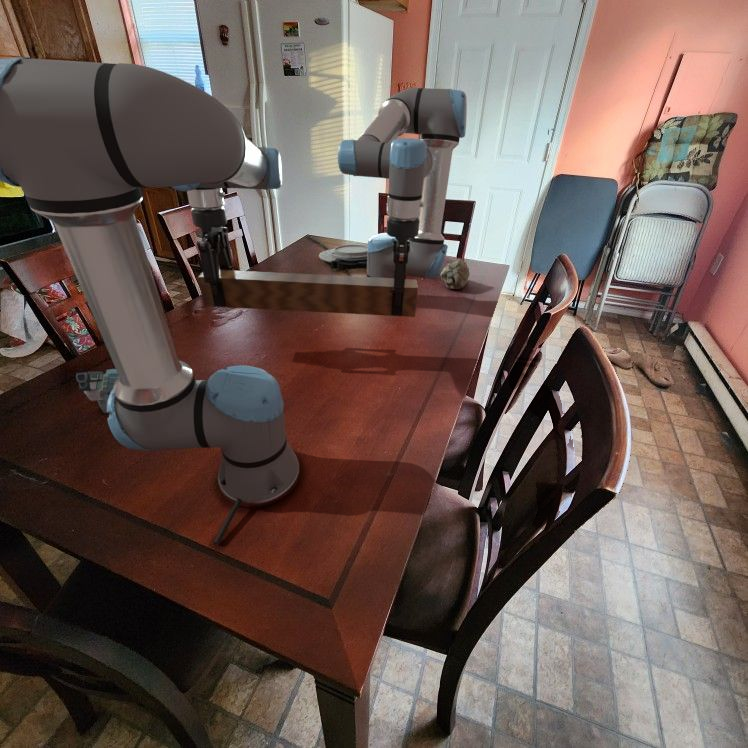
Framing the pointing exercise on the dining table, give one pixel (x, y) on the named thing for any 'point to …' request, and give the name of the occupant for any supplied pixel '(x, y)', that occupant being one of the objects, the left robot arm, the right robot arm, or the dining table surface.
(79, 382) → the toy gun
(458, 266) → the grey lumpy rounded piece
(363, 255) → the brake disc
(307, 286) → the bar
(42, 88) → the left robot arm
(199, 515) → the dining table surface
